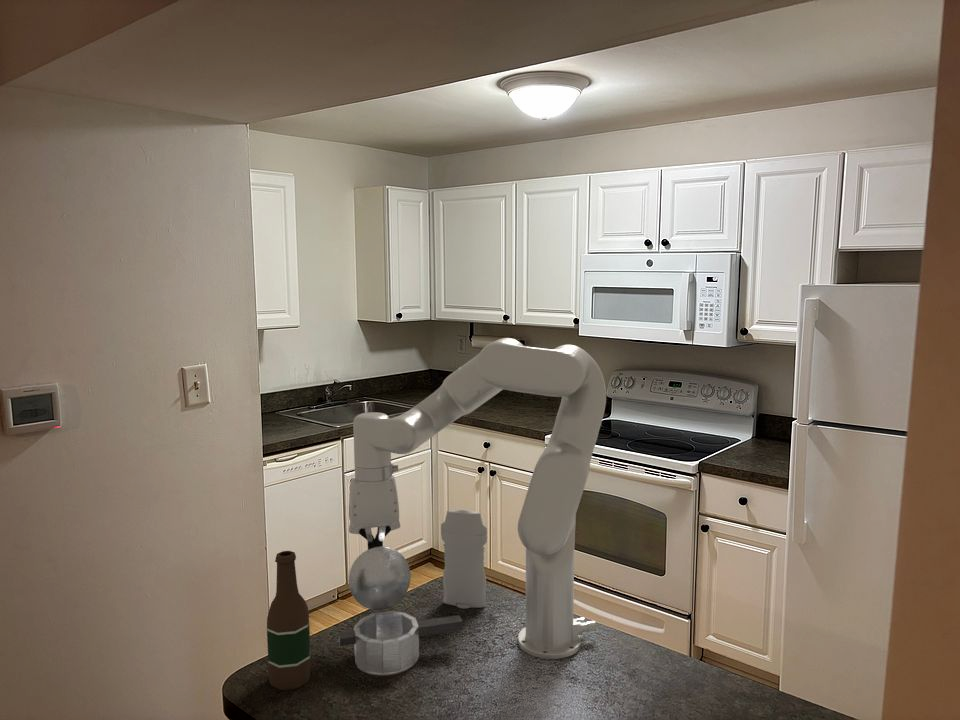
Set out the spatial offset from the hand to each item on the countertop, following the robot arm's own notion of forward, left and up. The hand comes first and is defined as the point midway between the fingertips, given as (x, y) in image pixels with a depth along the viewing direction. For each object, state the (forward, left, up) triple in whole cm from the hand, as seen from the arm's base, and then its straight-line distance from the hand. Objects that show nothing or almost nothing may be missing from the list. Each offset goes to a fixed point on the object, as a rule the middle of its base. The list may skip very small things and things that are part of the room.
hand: (375, 557), depth 146 cm
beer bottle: (+18, +16, -15) cm, 28 cm away
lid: (0, +7, -2) cm, 7 cm away
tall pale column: (-20, -3, -15) cm, 25 cm away
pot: (-3, +14, -15) cm, 20 cm away
